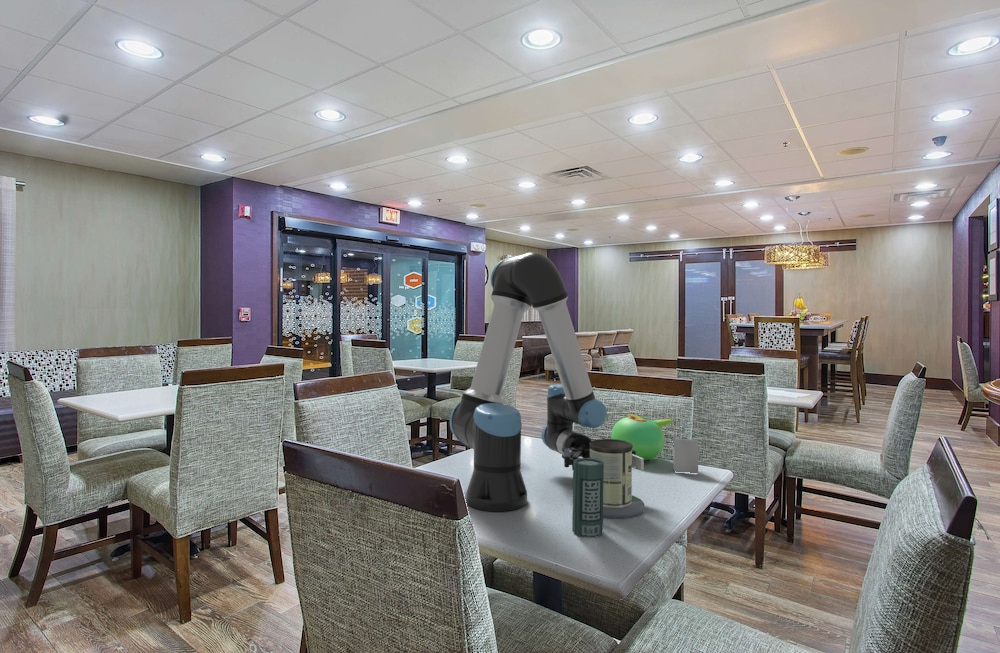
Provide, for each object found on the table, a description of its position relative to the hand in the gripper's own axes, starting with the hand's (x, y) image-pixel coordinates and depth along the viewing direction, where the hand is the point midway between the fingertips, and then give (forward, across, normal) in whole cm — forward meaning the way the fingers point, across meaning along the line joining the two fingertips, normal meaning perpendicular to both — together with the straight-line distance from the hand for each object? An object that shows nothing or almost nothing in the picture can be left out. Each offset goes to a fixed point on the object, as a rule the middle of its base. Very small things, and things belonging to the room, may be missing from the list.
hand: (618, 466), depth 127 cm
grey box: (-21, -37, -11) cm, 44 cm away
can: (+9, +13, -11) cm, 19 cm away
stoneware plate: (-3, 0, -10) cm, 11 cm away
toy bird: (-39, -33, -11) cm, 52 cm away
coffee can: (-3, 0, -10) cm, 10 cm away
